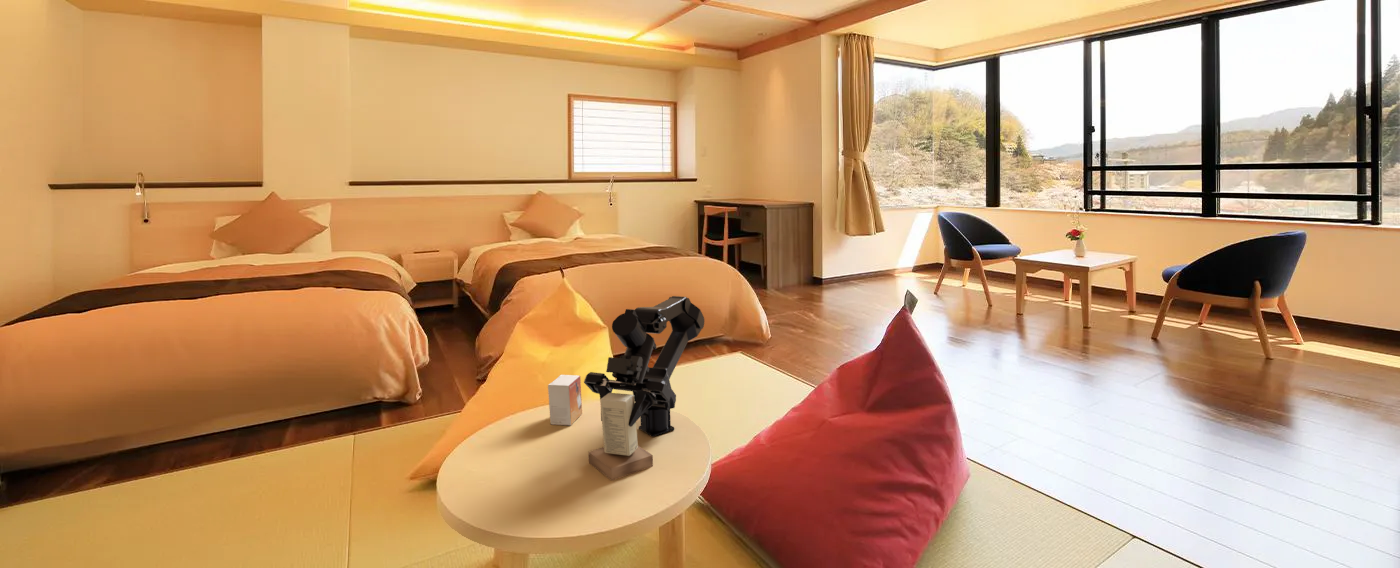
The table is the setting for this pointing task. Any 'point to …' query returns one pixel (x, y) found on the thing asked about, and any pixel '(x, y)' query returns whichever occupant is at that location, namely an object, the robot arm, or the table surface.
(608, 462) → the walnut block
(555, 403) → the small box
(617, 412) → the skincare box
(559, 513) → the table surface
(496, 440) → the table surface
